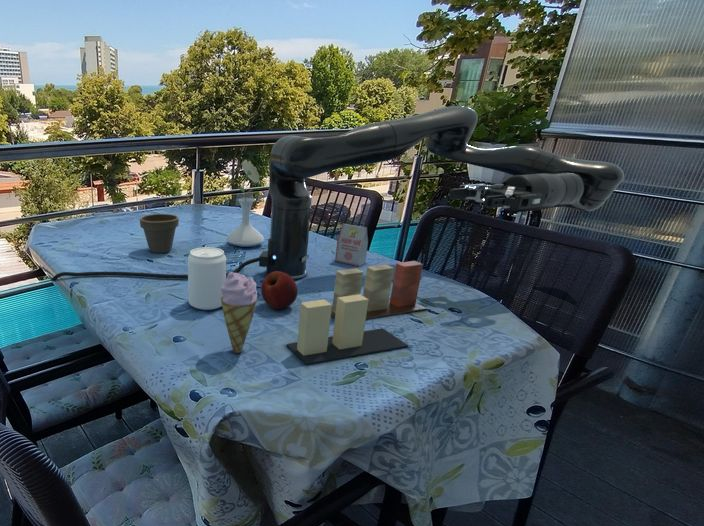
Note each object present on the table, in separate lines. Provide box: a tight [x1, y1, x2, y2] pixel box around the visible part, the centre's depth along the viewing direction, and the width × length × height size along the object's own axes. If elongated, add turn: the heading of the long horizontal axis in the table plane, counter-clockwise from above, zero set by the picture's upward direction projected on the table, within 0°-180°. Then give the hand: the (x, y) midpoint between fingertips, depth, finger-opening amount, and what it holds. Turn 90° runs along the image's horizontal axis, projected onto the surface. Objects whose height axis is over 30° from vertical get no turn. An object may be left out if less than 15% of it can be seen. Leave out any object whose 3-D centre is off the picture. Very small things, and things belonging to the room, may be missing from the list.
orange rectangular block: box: [389, 260, 424, 307], centre depth 97 cm, size 4×2×9 cm, turn 105°
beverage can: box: [187, 246, 227, 311], centre depth 100 cm, size 8×8×12 cm
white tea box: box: [334, 223, 369, 267], centre depth 123 cm, size 4×7×10 cm, turn 44°
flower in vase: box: [226, 159, 265, 248], centre depth 139 cm, size 13×11×25 cm
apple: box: [260, 271, 298, 310], centre depth 98 cm, size 7×8×8 cm
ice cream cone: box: [221, 271, 258, 354], centre depth 80 cm, size 7×6×15 cm
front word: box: [286, 293, 409, 366], centre depth 81 cm, size 20×7×9 cm, turn 105°
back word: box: [331, 264, 428, 320], centre depth 95 cm, size 20×7×9 cm, turn 105°
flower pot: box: [139, 213, 180, 254], centre depth 138 cm, size 12×11×10 cm
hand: (467, 198), depth 92 cm, fingers open, 8 cm apart
